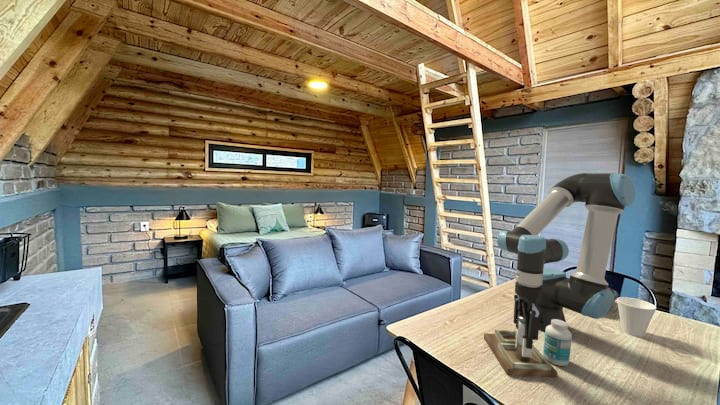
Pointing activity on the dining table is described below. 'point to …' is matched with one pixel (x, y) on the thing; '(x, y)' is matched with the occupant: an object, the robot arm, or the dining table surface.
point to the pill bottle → (557, 343)
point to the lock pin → (521, 339)
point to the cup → (635, 315)
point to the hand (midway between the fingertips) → (523, 351)
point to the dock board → (506, 355)
